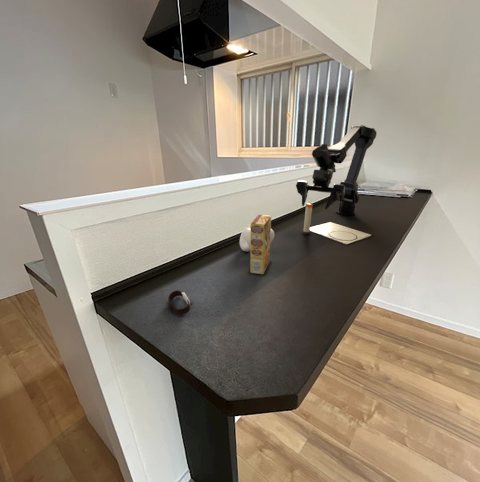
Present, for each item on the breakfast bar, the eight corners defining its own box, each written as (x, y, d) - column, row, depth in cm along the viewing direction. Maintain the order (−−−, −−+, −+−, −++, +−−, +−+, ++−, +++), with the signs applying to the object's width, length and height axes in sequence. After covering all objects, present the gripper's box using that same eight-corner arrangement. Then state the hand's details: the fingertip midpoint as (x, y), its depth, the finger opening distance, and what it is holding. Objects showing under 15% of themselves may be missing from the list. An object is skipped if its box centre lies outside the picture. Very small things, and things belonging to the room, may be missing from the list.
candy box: (263, 275, 76) (265, 224, 69) (249, 273, 77) (250, 223, 70) (269, 262, 83) (272, 215, 77) (256, 260, 84) (258, 214, 78)
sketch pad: (305, 229, 111) (305, 228, 111) (330, 222, 119) (330, 221, 119) (346, 244, 96) (346, 243, 96) (371, 235, 104) (371, 234, 104)
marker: (301, 233, 106) (304, 203, 101) (305, 232, 107) (309, 202, 102) (306, 235, 104) (309, 204, 99) (310, 234, 105) (314, 203, 100)
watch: (195, 312, 60) (194, 299, 59) (176, 319, 58) (174, 305, 57) (183, 296, 66) (181, 283, 65) (164, 302, 64) (162, 289, 62)
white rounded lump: (230, 251, 91) (229, 226, 87) (252, 241, 99) (253, 218, 95) (255, 261, 84) (256, 234, 80) (277, 249, 92) (279, 225, 88)
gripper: (299, 159, 105) (287, 192, 101) (348, 162, 96) (337, 198, 92) (304, 177, 114) (292, 208, 110) (349, 181, 106) (338, 214, 102)
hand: (313, 207), depth 103 cm, fingers open, 9 cm apart
